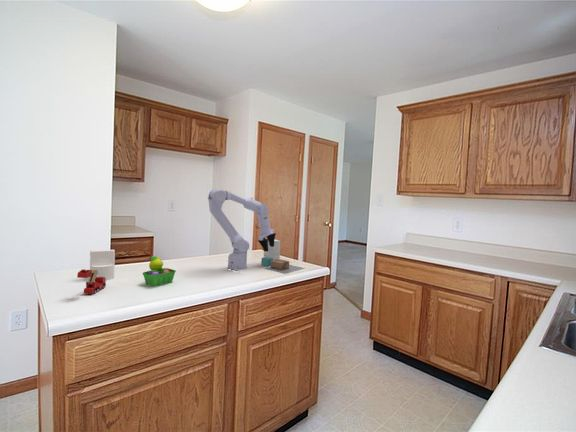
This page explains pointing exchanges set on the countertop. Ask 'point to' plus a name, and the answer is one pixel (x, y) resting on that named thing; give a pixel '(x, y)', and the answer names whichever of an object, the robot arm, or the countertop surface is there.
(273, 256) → the small box
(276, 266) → the base brick
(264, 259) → the teal block
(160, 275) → the fruit basket
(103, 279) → the toy fire truck
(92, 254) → the base with upright slab
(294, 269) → the baseplate
